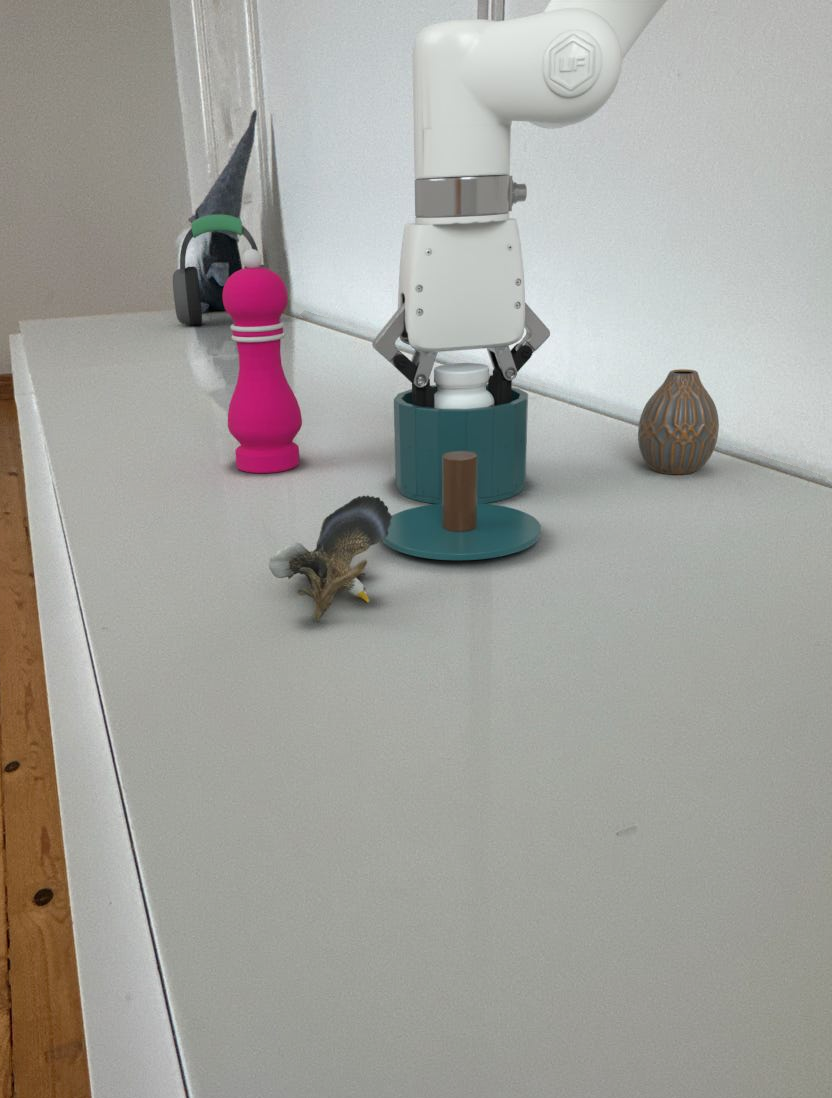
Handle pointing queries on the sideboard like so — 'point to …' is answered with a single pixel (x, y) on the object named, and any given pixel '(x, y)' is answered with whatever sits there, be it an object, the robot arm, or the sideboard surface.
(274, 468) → the pepper mill
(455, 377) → the pill bottle
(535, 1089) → the sideboard surface
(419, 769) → the sideboard surface
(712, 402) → the vase
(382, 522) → the eagle figurine
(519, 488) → the pot
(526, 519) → the lid
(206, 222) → the headphones
